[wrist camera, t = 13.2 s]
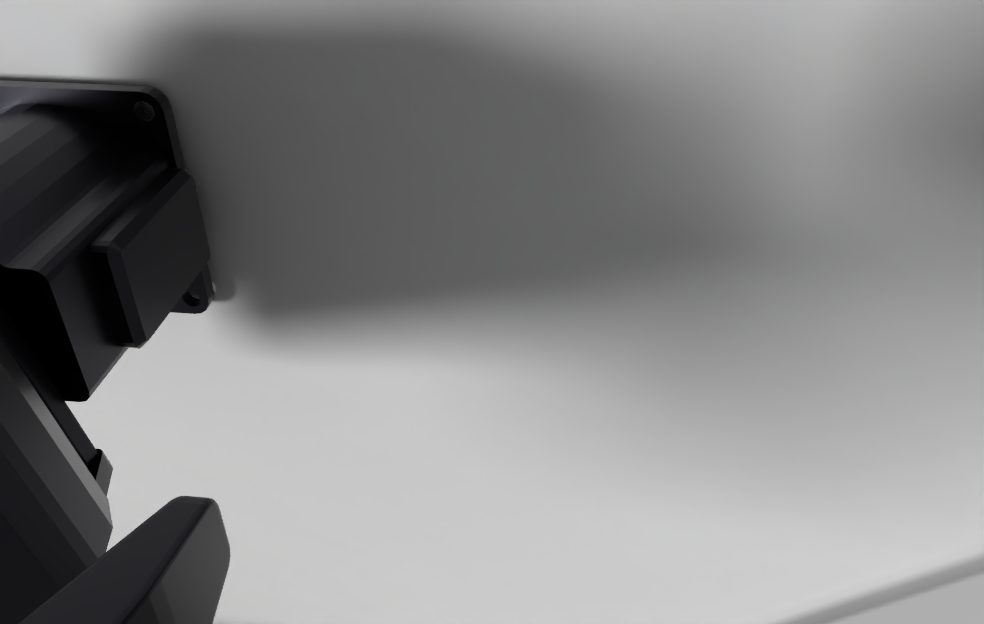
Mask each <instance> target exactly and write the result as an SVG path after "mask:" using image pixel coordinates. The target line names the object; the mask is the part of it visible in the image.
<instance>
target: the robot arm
mask: <svg viewBox="0 0 984 624" xmlns="http://www.w3.org/2000/svg"><path fill="white" fill-rule="evenodd" d="M142 102H146V103H148V104H149V105H150V106H151V107H152V108H153V110H154V116H153V115H150V114H148V113H147V112H145V111H144V109H143V107H142ZM210 257H211V255H210V250H209V246H208V241H207V237H206V232H205V228H204V224H203V219H202V215H201V210H200V206H199V201H198V197H197V193H196V188H195V184H194V179H193V177H192V176H191V175H190V173H189V172H188V171H187V170H186V169H185V165H184V161H183V156H182V152H181V148H180V143H179V139H178V135H177V130H176V126H175V122H174V117H173V113H172V109H171V105H170V103H169V101H168V99H167V97H166V96H165V95H164V94H163V93H162V92H161V91H159V90H157V89H156V88H154V87H149V86H136V85H109V84H83V83H57V82H31V81H5V80H0V624H212V623H213V620H214V616H215V613H216V609H217V606H218V603H219V599H220V596H221V592H222V589H223V585H224V582H225V578H226V575H227V571H228V567H229V562H230V546H229V542H228V538H227V534H226V531H225V527H224V524H223V520H222V516H221V513H220V509H219V506H218V504H217V503H216V502H215V501H214V500H213V499H211V498H204V497H192V496H180V497H177V498H175V499H173V500H171V501H170V502H169V503H167V504H166V505H165V506H164V507H162V508H161V509H160V510H159V511H157V512H156V513H155V514H154V515H152V516H151V517H150V518H149V519H147V520H146V521H145V522H144V523H142V524H141V525H140V526H139V527H137V528H136V529H135V530H134V531H132V532H131V533H130V534H129V535H127V536H126V537H125V538H124V539H122V540H121V541H120V542H119V543H117V544H116V545H115V546H114V547H112V548H111V549H110V550H109V551H107V552H106V549H107V546H108V542H109V539H110V535H111V532H112V528H113V526H112V520H111V514H110V508H109V502H108V499H107V497H106V496H107V492H108V487H109V483H110V479H111V474H112V470H113V468H112V465H111V464H110V462H109V460H108V459H107V457H106V456H105V454H104V453H103V451H102V450H101V449H95V448H94V446H93V444H92V443H91V441H90V440H89V438H88V437H87V435H86V434H85V432H84V431H83V429H82V427H81V426H80V424H79V423H78V421H77V420H76V418H75V417H74V415H73V414H72V412H71V410H70V409H69V407H68V406H67V404H66V403H65V401H75V402H82V401H86V400H87V399H88V398H89V397H90V396H91V395H92V393H93V392H94V391H95V390H96V388H97V387H98V386H99V385H100V383H101V382H102V381H103V379H104V378H105V377H106V376H107V374H108V373H109V372H110V370H111V369H112V368H113V367H114V365H115V364H116V363H117V361H118V360H119V359H120V358H121V356H122V355H123V354H124V352H125V351H126V350H127V349H128V348H141V347H142V346H143V345H144V344H145V343H146V342H147V341H148V340H149V339H150V338H151V336H152V335H153V334H154V332H155V331H156V330H157V329H158V327H159V326H160V325H161V323H162V322H163V321H164V319H165V318H166V317H167V315H168V314H169V313H170V312H177V313H193V314H196V313H202V312H204V311H205V310H206V309H207V308H208V307H209V305H210V304H211V302H212V300H213V299H214V290H213V286H212V282H211V278H210V273H209V269H208V265H207V262H208V261H209V260H210ZM189 291H190V292H193V293H195V294H197V295H198V296H199V298H200V299H197V298H194V297H193V296H192V295H190V293H189Z"/></svg>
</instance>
